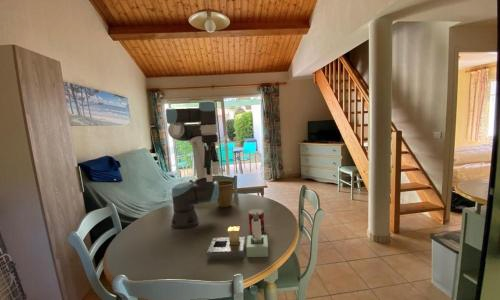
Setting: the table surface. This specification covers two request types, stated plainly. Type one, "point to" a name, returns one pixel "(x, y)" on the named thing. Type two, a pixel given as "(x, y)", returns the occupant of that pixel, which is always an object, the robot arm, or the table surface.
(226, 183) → the plant pot
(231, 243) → the tan rectangular block
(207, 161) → the robot arm
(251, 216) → the canned food
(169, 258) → the table surface
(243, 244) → the socket block
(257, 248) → the pale green box
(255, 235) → the white tall bar
